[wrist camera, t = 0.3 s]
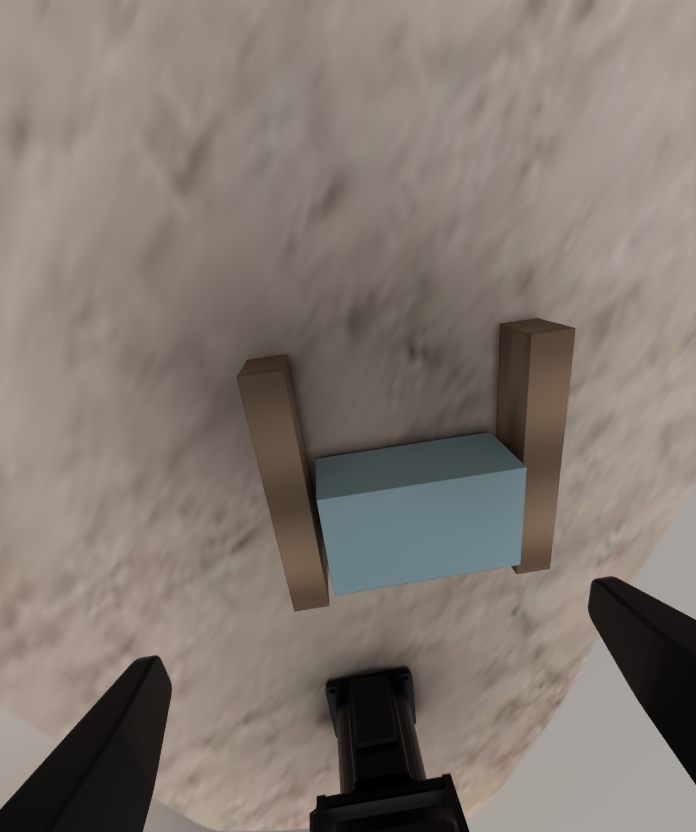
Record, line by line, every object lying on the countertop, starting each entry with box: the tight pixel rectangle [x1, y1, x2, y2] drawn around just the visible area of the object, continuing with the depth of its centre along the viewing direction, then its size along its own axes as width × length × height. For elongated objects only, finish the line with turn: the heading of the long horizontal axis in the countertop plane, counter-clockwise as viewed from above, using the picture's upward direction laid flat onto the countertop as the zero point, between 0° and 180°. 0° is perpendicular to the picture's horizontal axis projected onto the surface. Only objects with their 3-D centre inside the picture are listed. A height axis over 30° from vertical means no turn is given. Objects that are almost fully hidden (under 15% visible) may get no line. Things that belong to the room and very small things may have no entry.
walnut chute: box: [237, 318, 575, 612], centre depth 21 cm, size 14×15×3 cm
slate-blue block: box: [316, 432, 527, 596], centre depth 21 cm, size 6×10×4 cm, turn 97°
